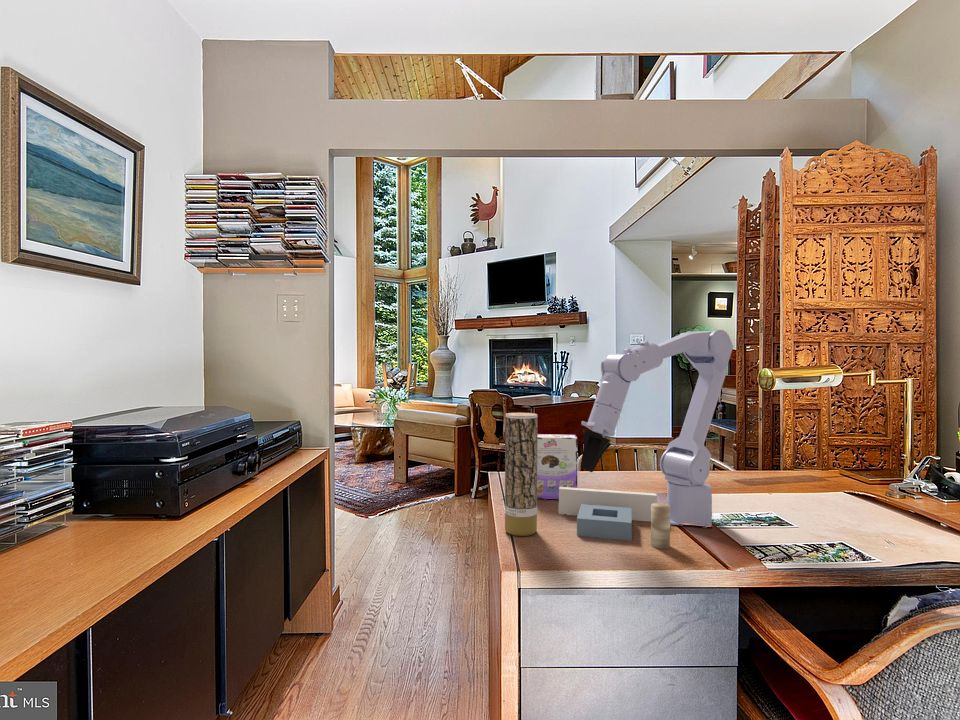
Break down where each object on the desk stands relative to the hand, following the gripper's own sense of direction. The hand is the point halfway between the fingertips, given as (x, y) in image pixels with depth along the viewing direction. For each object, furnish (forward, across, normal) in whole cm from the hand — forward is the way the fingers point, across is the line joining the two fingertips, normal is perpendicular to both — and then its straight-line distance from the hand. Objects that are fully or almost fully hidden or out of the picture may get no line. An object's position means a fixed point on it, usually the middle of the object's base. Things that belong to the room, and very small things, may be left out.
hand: (586, 469), depth 111 cm
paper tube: (+17, -4, -9) cm, 20 cm away
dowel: (+9, -3, +18) cm, 20 cm away
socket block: (+11, -10, +7) cm, 16 cm away
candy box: (+9, -33, -8) cm, 35 cm away
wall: (+8, -19, +7) cm, 22 cm away
